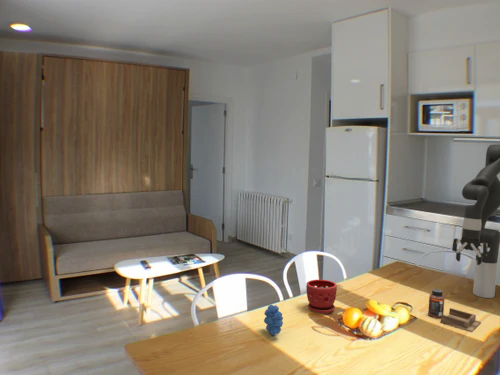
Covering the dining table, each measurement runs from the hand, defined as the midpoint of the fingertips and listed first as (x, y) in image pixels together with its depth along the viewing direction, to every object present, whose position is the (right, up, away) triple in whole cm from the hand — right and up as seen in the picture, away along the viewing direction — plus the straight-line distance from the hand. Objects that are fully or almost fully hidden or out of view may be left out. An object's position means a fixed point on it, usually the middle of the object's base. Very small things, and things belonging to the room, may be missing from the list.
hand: (468, 262), depth 190 cm
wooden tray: (-14, -21, -20) cm, 32 cm away
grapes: (-92, -21, -34) cm, 100 cm away
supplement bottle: (-21, -21, -13) cm, 32 cm away
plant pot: (-70, -19, -9) cm, 73 cm away
